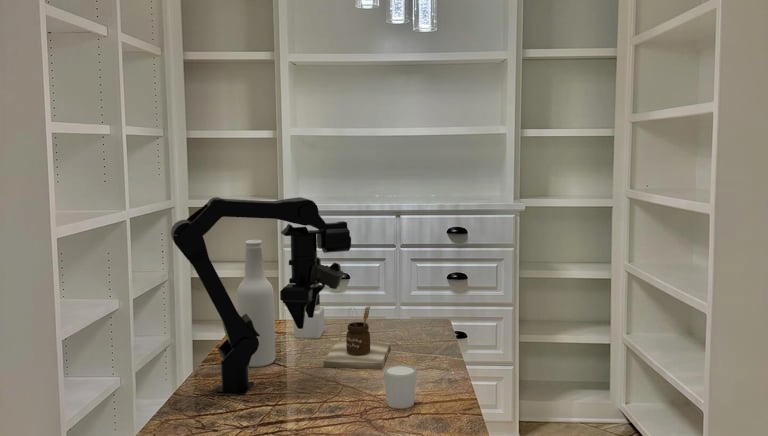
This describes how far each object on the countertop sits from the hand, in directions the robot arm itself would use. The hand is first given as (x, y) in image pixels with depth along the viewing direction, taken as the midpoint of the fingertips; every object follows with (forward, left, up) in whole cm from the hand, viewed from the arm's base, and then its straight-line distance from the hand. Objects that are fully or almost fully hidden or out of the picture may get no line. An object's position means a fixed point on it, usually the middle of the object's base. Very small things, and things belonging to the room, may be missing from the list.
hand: (305, 322), depth 151 cm
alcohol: (+10, +15, -13) cm, 22 cm away
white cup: (-12, -23, -13) cm, 29 cm away
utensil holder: (+15, -9, -12) cm, 21 cm away
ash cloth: (+16, -9, -13) cm, 22 cm away
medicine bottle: (+34, +8, -13) cm, 37 cm away
